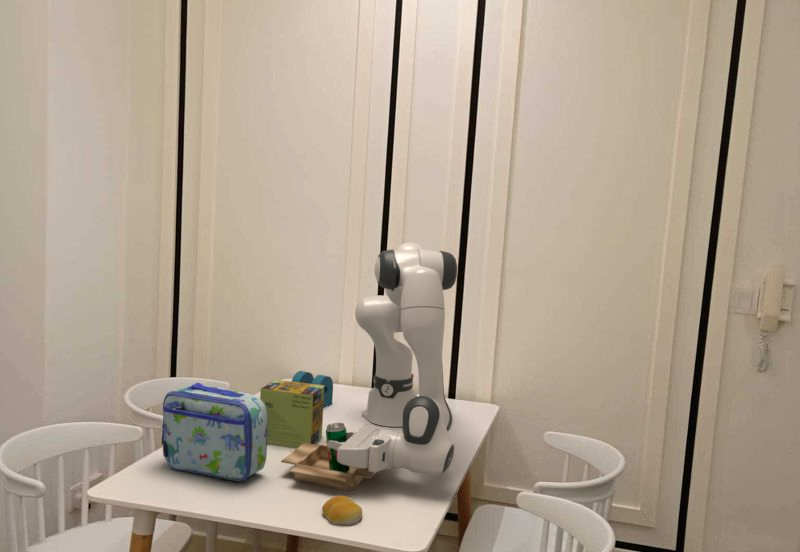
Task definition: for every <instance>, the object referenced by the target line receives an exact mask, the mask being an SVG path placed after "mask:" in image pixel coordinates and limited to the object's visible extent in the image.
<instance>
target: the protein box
mask: <svg viewBox="0 0 800 552" xmlns="http://www.w3.org/2000/svg"><path fill="white" fill-rule="evenodd" d="M259 399H261V400H262V402H263V403H264V405H265V407H266V411H267V445H272V446H279V447H288V448H292V447H293V448H292V449H297V448H298V447H300V446H301V445H302V444H304V443H310V444H315V445H317V444H318V442H319V441H320V440H321V439H322V438H323V421H324V419H323V418H324V416H323V415H324V408H323V402H324V385H316V384H308V383H300V382H291V381H290V380H280V379H274V380H272V381H271V382H269V383H268V384H266V385H264V386H263V387H262V388H260V397H259Z"/></svg>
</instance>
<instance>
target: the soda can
mask: <svg viewBox="0 0 800 552" xmlns="http://www.w3.org/2000/svg"><path fill="white" fill-rule="evenodd" d="M347 432H348V431H347V427H346V426H345V423H344V422H333V423H329V424H327V425H326V429H325V436H326V437H325V438H326V440H327V450H328V460H329V470H334V471H340V472H345V473H347V472H348V471H349V470H350V466H347V465H343V464H341V463H339V462H338V461H337V450H335V449H332V448H328V441H329V440H331V439H333V440H337V442H340V443H341V442H346V441H347Z"/></svg>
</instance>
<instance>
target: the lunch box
mask: <svg viewBox="0 0 800 552" xmlns="http://www.w3.org/2000/svg"><path fill="white" fill-rule="evenodd" d="M162 411H163V413H162V414H163V416H162V425H161V428H162V430H161V433H162V434H161V445H162V456H163V457H164V459H165V462H166V464H167V466H168V467H169V468H170V469H171V470H173V471H182V472H189V473H194V474H199V475H203V476H204V475H205V476H210V477H214V478H219V479H224V480H228V481H232V482H234V481H235V482H244V481H246V480H247V479H248V478H249V477H250V476H252V475H254V474H256V473H257V472H260V471H261V470H263V469H264V467H265V465H266V462H267V461H266V460H267V454H268V453H267V450H268V444H267V411H266V407H265V405H264V403H263V402H262V400H261V399H260V397H258V396H256V395H254V394H251V393H246V392H243V391H240V390H233V389H230V388H223V387H218V386H209V385H205V384H204V385H203V384H202V383H200V382H196V383H193V384H189V385H186V386H184V387H183V388H180V389H176V390H174V391H172V390H171V391H169V392H167V393H166V394H165V396H164V398H163V402H162Z"/></svg>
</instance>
